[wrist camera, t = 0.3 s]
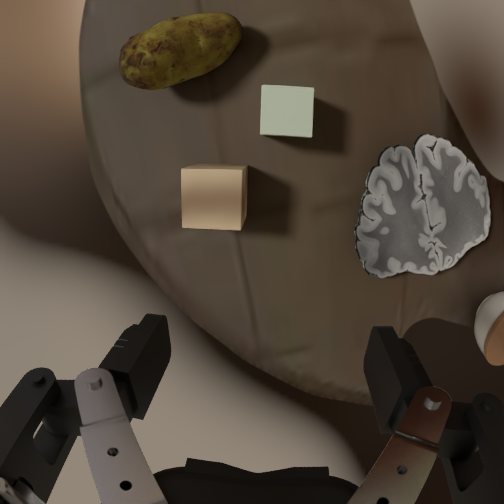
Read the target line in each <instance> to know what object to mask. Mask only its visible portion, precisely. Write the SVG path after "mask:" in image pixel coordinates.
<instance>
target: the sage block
mask: <svg viewBox="0 0 504 504" xmlns="http://www.w3.org/2000/svg"><path fill="white" fill-rule="evenodd" d="M313 100H314V88H309V87H296V86H278V85H262V93H261V122H260V134H261V135H272V136H290V137H305V138H309V137H312V127H313Z"/></svg>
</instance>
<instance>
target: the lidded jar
mask: <svg viewBox="0 0 504 504" xmlns="http://www.w3.org/2000/svg"><path fill="white" fill-rule="evenodd" d="M474 332H475V338H476V341H477V343H478V346H479V348H480V349H481V351H482V352H483V354H484V355H485V358H486V359H487V361H488V362H489V363H490V364H492V365H496V366H497V365H503V364H504V291H501V292H497V293H495V294H492V295H490V296H488V297H487V298H485V299H484V300H483V302H482V303H481V304H480V306H479V308H478V310H477V313H476V319H475V324H474Z"/></svg>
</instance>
